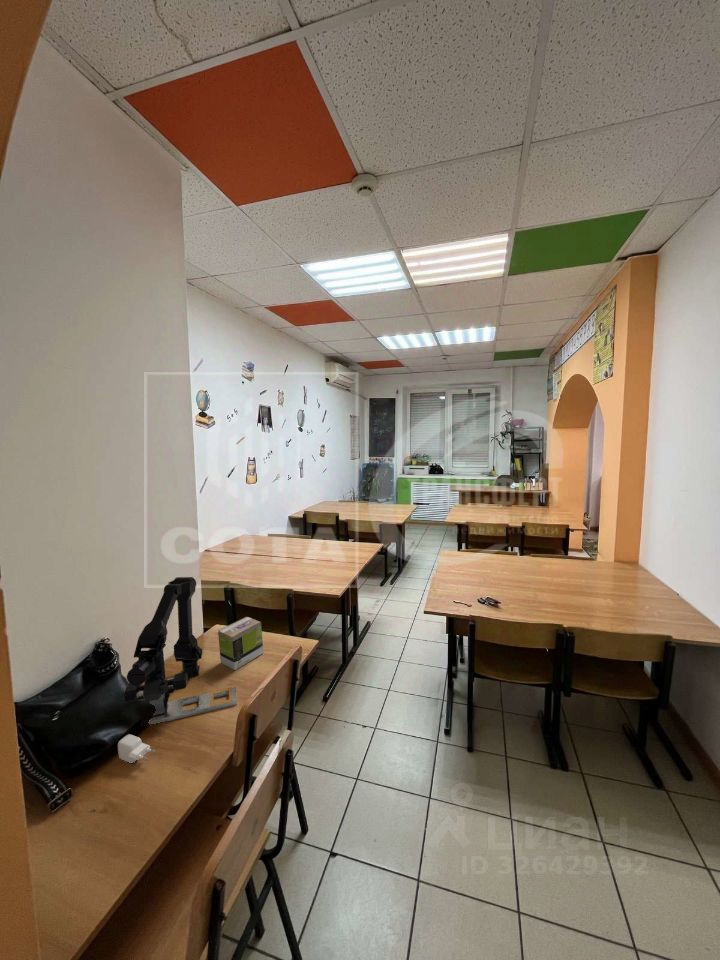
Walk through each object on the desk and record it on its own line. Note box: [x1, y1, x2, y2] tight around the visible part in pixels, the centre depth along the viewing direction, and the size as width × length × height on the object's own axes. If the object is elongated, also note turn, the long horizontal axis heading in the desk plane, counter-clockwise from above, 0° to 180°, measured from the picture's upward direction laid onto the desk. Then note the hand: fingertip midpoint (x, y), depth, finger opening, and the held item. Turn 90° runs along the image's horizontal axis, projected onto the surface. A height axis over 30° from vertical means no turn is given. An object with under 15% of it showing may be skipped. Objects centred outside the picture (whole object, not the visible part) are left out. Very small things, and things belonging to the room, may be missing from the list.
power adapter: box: [117, 733, 155, 764], centre depth 110 cm, size 11×5×6 cm, turn 68°
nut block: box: [150, 693, 167, 718], centre depth 128 cm, size 4×4×7 cm
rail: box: [148, 686, 237, 725], centre depth 132 cm, size 8×30×2 cm, turn 109°
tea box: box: [217, 616, 264, 671], centre depth 160 cm, size 15×10×15 cm
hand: (158, 709), depth 128 cm, fingers closed on nut block, 4 cm apart
